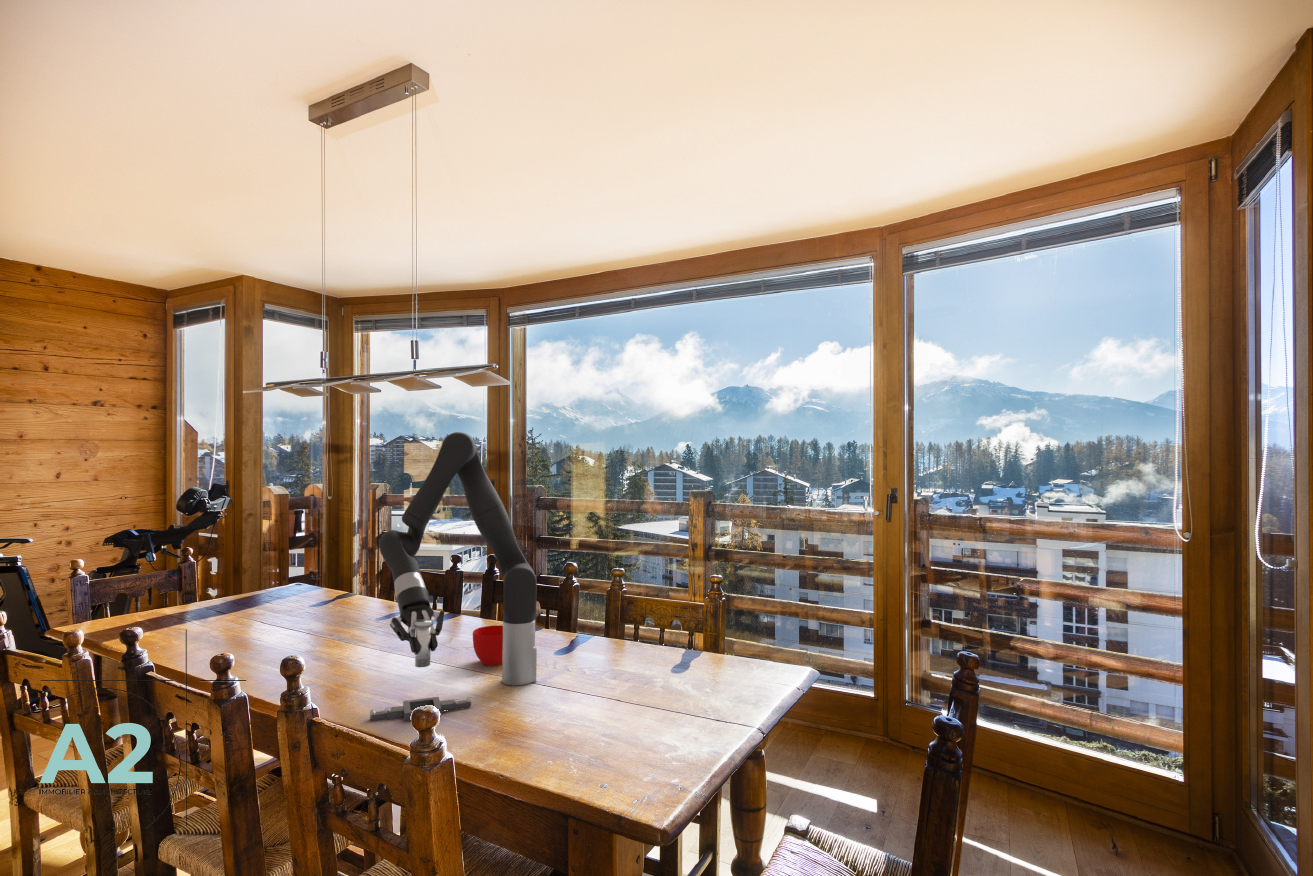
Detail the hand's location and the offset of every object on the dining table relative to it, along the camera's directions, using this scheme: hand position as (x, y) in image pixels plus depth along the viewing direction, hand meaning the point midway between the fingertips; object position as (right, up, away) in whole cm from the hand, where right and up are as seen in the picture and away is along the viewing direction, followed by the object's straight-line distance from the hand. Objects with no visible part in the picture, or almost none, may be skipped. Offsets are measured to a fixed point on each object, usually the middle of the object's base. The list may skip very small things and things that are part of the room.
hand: (425, 650), depth 161 cm
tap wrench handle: (-1, -16, +1) cm, 16 cm away
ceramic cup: (+8, -18, +41) cm, 45 cm away
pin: (-1, -4, +1) cm, 4 cm away
